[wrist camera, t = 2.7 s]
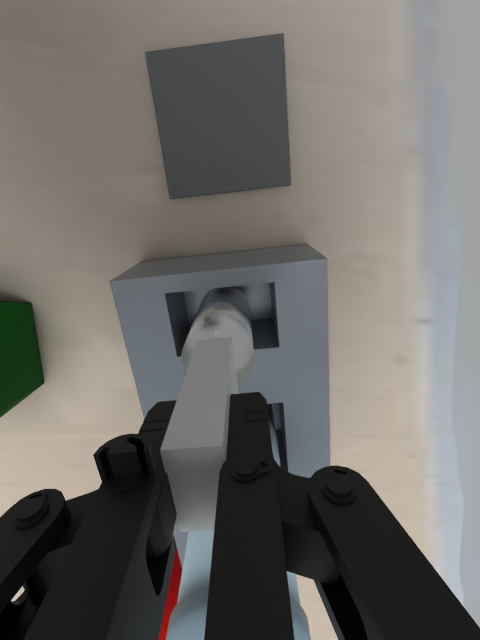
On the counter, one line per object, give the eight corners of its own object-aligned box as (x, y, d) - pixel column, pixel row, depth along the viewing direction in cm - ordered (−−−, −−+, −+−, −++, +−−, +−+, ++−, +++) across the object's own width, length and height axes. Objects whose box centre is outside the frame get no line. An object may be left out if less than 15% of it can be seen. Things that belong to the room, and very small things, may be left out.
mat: (147, 56, 19) (145, 52, 19) (282, 38, 19) (283, 33, 19) (171, 198, 22) (170, 198, 22) (289, 185, 22) (290, 184, 21)
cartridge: (203, 376, 26) (148, 621, 11) (271, 369, 26) (311, 611, 11) (212, 431, 28) (177, 705, 13) (275, 426, 28) (315, 698, 13)
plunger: (196, 288, 20) (175, 330, 14) (247, 283, 20) (250, 322, 14) (203, 335, 21) (187, 394, 15) (252, 331, 21) (256, 388, 15)
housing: (141, 261, 24) (109, 281, 18) (306, 243, 23) (327, 258, 18) (192, 504, 32) (182, 569, 26) (315, 495, 32) (331, 559, 26)
